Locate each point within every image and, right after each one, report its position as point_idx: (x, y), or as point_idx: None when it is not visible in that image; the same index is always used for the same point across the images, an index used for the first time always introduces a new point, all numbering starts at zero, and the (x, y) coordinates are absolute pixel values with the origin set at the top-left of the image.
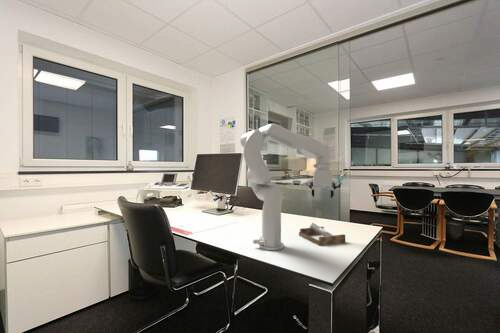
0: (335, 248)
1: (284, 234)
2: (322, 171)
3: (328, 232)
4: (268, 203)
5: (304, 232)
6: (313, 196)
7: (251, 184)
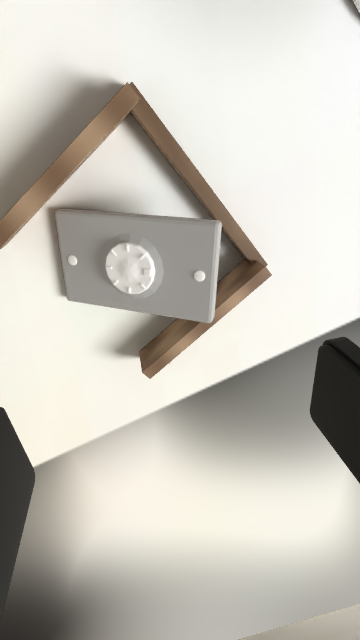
0: (20, 62)
1: (332, 247)
2: None
3: (104, 302)
4: None
5: (237, 276)
6: (337, 339)
7: None
